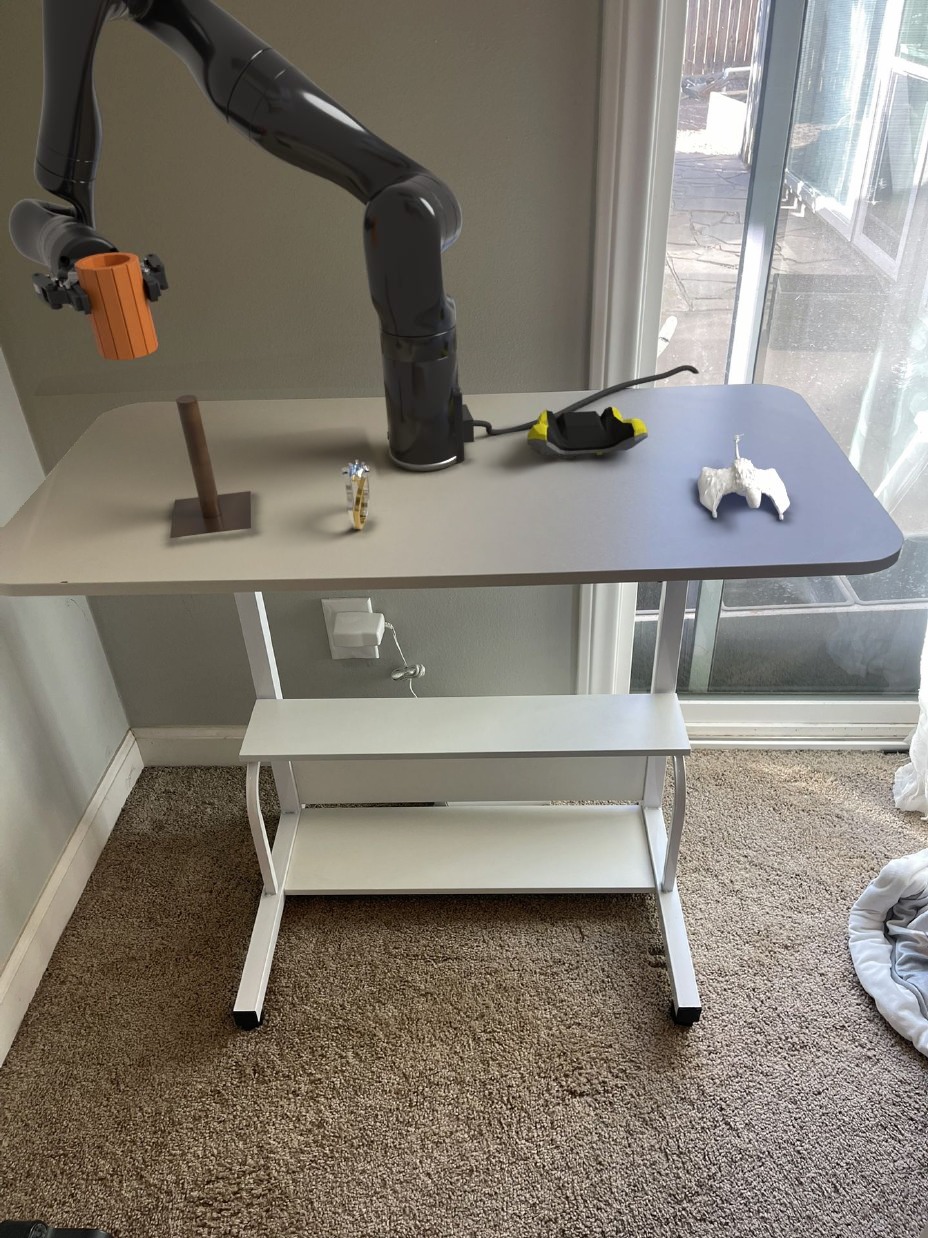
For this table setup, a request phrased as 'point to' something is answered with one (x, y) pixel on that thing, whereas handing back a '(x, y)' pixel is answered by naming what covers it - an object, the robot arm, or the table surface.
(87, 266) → the orange stave barrel
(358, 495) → the ring
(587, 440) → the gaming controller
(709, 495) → the white dragon
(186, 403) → the brown peg stand
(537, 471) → the table surface
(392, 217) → the robot arm
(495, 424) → the table surface
